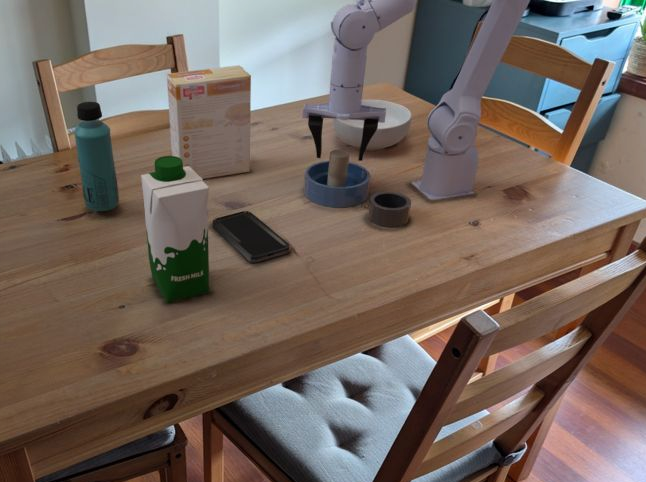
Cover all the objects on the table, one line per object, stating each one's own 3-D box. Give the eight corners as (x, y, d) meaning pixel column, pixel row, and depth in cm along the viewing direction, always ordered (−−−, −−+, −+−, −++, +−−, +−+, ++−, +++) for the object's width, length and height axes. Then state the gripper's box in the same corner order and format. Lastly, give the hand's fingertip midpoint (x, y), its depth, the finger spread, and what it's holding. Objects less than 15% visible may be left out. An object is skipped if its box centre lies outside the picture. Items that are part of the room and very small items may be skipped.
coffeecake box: (239, 159, 146) (240, 64, 134) (250, 172, 141) (252, 75, 129) (171, 169, 143) (165, 72, 130) (180, 183, 137) (175, 83, 125)
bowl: (351, 178, 139) (353, 157, 136) (378, 205, 129) (381, 183, 127) (294, 186, 136) (295, 164, 133) (318, 214, 127) (320, 192, 124)
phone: (247, 209, 126) (292, 246, 115) (247, 215, 126) (291, 252, 116) (209, 219, 123) (251, 258, 113) (209, 225, 124) (251, 264, 113)
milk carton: (195, 266, 113) (191, 150, 101) (217, 295, 107) (215, 174, 94) (145, 278, 110) (133, 160, 98) (164, 308, 104) (154, 186, 91)
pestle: (340, 187, 134) (344, 148, 129) (348, 195, 131) (352, 155, 126) (323, 190, 133) (326, 150, 128) (330, 198, 131) (334, 158, 126)
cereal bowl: (331, 128, 159) (334, 97, 155) (404, 131, 158) (409, 100, 153) (329, 157, 146) (332, 125, 142) (409, 161, 145) (414, 128, 140)
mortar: (396, 209, 128) (399, 189, 126) (414, 227, 123) (418, 206, 120) (360, 214, 127) (363, 194, 124) (378, 232, 121) (381, 212, 119)
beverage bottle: (127, 206, 130) (115, 100, 117) (108, 222, 125) (94, 113, 113) (98, 200, 132) (83, 95, 119) (78, 215, 127) (61, 107, 115)
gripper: (302, 88, 117) (298, 163, 126) (389, 92, 115) (378, 168, 124) (306, 75, 123) (302, 148, 131) (389, 79, 120) (379, 153, 129)
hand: (339, 157), depth 128 cm, fingers open, 7 cm apart
